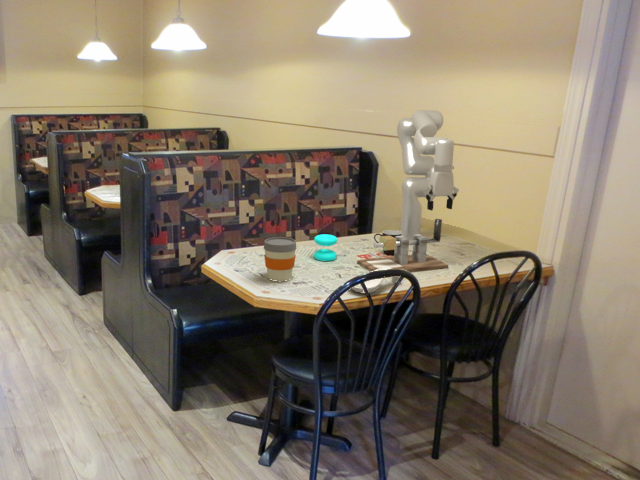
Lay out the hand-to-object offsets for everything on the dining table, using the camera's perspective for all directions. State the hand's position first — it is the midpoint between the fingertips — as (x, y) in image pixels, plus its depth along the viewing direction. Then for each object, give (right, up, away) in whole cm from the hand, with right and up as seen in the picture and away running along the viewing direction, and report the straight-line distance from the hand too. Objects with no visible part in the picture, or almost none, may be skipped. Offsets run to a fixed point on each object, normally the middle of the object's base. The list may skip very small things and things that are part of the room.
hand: (439, 209), depth 250 cm
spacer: (-23, -16, -6) cm, 29 cm away
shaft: (-14, -15, -2) cm, 21 cm away
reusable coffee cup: (-67, -28, -21) cm, 75 cm away
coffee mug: (-20, -19, +18) cm, 33 cm away
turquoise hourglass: (-49, -21, +7) cm, 54 cm away
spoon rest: (-30, -31, -28) cm, 52 cm away
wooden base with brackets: (-16, -24, 0) cm, 29 cm away
